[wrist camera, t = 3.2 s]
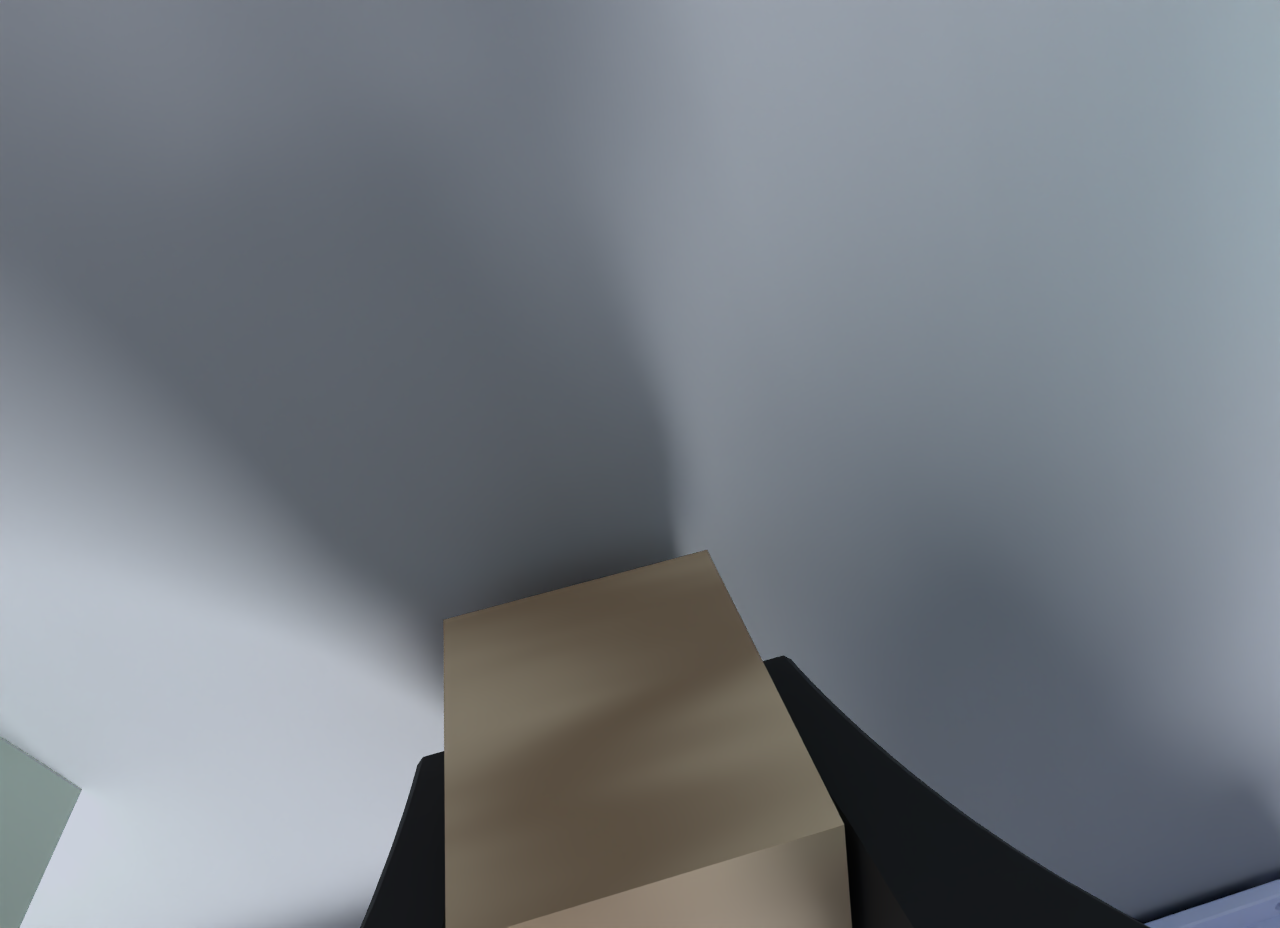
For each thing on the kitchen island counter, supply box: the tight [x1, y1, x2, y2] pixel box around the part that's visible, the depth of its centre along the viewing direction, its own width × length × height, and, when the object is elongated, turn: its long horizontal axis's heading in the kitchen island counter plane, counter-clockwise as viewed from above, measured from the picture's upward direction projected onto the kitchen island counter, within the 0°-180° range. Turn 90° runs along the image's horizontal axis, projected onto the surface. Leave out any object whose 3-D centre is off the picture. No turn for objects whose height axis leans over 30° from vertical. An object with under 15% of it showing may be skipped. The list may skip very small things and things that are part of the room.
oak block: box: [443, 550, 852, 928], centre depth 11 cm, size 4×4×5 cm
